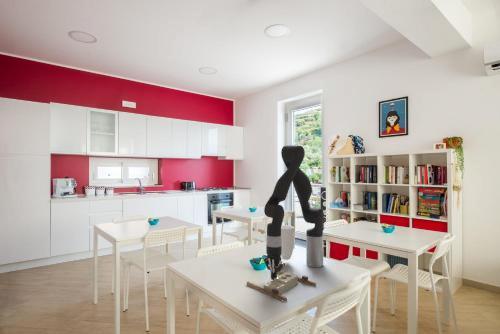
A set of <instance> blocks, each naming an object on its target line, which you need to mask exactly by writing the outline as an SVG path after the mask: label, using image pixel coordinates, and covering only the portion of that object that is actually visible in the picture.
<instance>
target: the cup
mask: <svg viewBox="0 0 500 334" xmlns="http://www.w3.org/2000/svg"><path fill="white" fill-rule="evenodd" d="M295 234H296V233H295V227H294V226H292V225H286V224H285V225H282V226H281V239H282V254H281V260H285V261H287V260H288V261H289V260H290V259H291V257H292V255H293V251H294V246H295V238H296V237H295Z"/></svg>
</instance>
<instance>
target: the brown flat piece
mask: <svg viewBox="0 0 500 334" xmlns="http://www.w3.org/2000/svg"><path fill="white" fill-rule="evenodd" d="M284 273H286V272H285V271H283V270H281V271H280V272H277V275H278V274H279V275H282V274H284ZM298 282H301V283H304V284H306V285H309V286H312V287H316V286H317V282H314V281H311V280H309V276H307V275H302V276H301V277H300V276H298ZM246 286H249V287H251V288H252V289H255V290H258V291H260V292H262V293H264V294H267V295H269V296H271V297H274V298H275V297H276V299H278V300H279V301H280V300H281V301H282V300H283V301H282V302H284V301H286V302H287V301H288V297H286V296H284V295H282V294H281V293H280V294H279V290H277V289H272V291H270V290H268V289H265V288H264V286H260V285H259V284H256V283H254V282H251V281H249V280H248V281H246Z"/></svg>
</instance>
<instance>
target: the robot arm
mask: <svg viewBox="0 0 500 334" xmlns="http://www.w3.org/2000/svg"><path fill="white" fill-rule="evenodd" d="M280 153H281V158H282V161H283V163H284V165H285V167H286V171H284V173H283V174H282V175H281V176H280V177H279V178H278V180H277V181H276V184H275V186H274V189H273V191H272V194H271V196H270V197H269V199H267V202H266V204H264V208H263V209H264V210H263V211H264V214H265V216H266V217H267V218H270V219H272V220H271V222H269V223H267V224H266V226H267V227H266V240H265V241H266V242H265V243H266V245H265V246H266V247H265V248H266V257H264V258H263V262H264V265H265V266H266V269H267V270H269V272H270V278H271V281H273V280H274V278H276V277H278V273H277V272H280V271H283V268H284V267H285V265H286V263H285V262H283V261H282V257H281V254H282V239H281V226H283V223H284V222H283V221H284V218H285V208H284V207H283V205H281V204H280V203H281V202H285V201H286V199H287V197H288V193H289V190H290V187H291V184H292V185H293V188H294V191H295V193H296V196H297V198H298V202H299V204H300V208H301V213H302V217H303V220H304V222H306V223H308V224H314V227H313V228H312V227H311V228H309V229H307V230H306V232H305V233H306V235H305V236H306V240H305V241H306V242H305V243H306V244H305V247H306V251H305V253H306V254H305V255H306V256H305V257H306V261H305V262H306V266H308V267H311V268H321V267H323V265H324V246H323V245H324V244H323V243H324V242H323V241H324V240H323V237H324V236H323V235H324V234H323V233H324V220H325V218H324V217H325V216H324V215H325V214H324V210H323V209H322V208H319V207H311V206H310V202H309V200H310V198H311V196H312V193H313V187H312V184H311V181H310V178H309V176H307V174H306V173H305V172H304V171H303V170H302V169H301V168H300V167H301V165H302V163H303V162H304V158H305V155H306V154H305V153H306V152H305V148H304V147H303V146H302V145H299V144H287V145H286V144H285V145H283V147H282V148H281V152H280Z"/></svg>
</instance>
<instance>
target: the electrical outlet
mask: <svg viewBox="0 0 500 334" xmlns="http://www.w3.org/2000/svg"><path fill="white" fill-rule="evenodd" d="M298 277H299V275H297V274H293V273H289V272H288V271H287V272H286V273H284V274H282V275H281V274H279V275H277V277H276V278H274V280H271V281H269V282H267V283H265V284H264V285H263V288H265V289H268V290H270V291H272V289H277V290H279V294H280V295H281V294H282V293H284V292H286V291H287V290H289V289H291V288H292V287H294V286H296V285H297V284H299V281H298Z"/></svg>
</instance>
